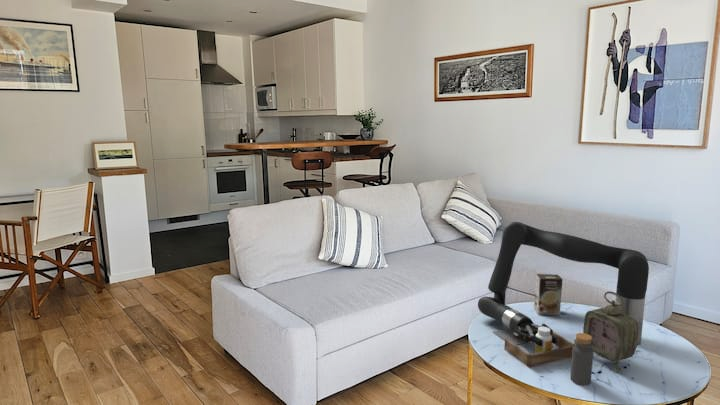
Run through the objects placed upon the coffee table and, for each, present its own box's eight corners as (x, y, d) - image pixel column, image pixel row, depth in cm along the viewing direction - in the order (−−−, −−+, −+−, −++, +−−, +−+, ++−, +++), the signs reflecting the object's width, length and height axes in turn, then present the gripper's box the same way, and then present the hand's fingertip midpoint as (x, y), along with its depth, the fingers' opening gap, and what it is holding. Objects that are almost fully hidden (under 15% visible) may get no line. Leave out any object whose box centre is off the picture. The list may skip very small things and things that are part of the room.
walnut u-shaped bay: (504, 349, 166) (504, 339, 166) (549, 339, 173) (550, 329, 172) (528, 367, 154) (529, 356, 154) (576, 356, 161) (577, 345, 160)
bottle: (566, 375, 149) (569, 332, 146) (584, 374, 150) (587, 331, 147) (576, 386, 143) (579, 341, 141) (594, 385, 144) (598, 340, 141)
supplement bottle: (550, 352, 164) (552, 326, 162) (551, 359, 159) (553, 333, 157) (534, 350, 166) (535, 324, 164) (534, 357, 161) (536, 331, 159)
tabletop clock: (581, 355, 161) (586, 287, 157) (599, 350, 165) (605, 283, 160) (618, 376, 148) (625, 302, 144) (638, 369, 152) (645, 297, 147)
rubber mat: (492, 332, 180) (492, 331, 180) (518, 327, 184) (518, 326, 184) (512, 346, 169) (512, 345, 169) (538, 340, 173) (539, 339, 173)
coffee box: (537, 315, 194) (539, 278, 191) (533, 309, 200) (535, 273, 198) (560, 315, 193) (562, 279, 190) (555, 309, 200) (557, 274, 197)
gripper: (501, 315, 171) (532, 335, 156) (533, 309, 176) (566, 328, 160) (500, 334, 173) (531, 356, 157) (532, 328, 177) (565, 348, 162)
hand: (548, 342), depth 159 cm, fingers closed on supplement bottle, 5 cm apart
